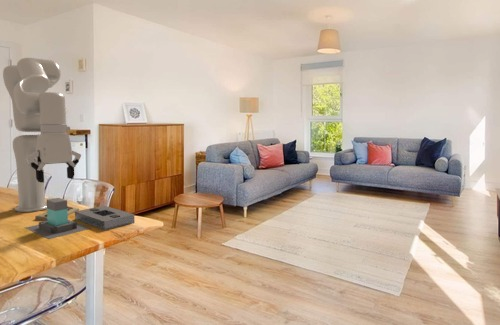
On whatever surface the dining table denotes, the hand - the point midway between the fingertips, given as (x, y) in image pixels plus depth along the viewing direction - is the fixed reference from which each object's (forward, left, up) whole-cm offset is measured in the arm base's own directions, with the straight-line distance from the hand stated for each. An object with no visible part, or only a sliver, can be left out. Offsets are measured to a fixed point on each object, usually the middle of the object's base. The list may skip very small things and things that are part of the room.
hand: (56, 180), depth 115 cm
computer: (-17, +8, -19) cm, 27 cm away
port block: (+4, +15, -18) cm, 24 cm away
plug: (0, 0, -17) cm, 17 cm away
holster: (0, 0, -18) cm, 18 cm away
